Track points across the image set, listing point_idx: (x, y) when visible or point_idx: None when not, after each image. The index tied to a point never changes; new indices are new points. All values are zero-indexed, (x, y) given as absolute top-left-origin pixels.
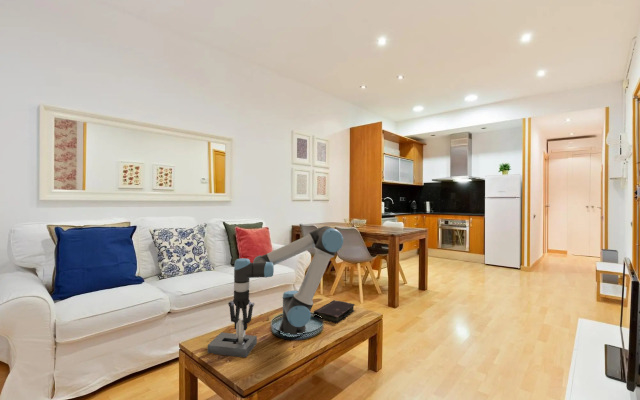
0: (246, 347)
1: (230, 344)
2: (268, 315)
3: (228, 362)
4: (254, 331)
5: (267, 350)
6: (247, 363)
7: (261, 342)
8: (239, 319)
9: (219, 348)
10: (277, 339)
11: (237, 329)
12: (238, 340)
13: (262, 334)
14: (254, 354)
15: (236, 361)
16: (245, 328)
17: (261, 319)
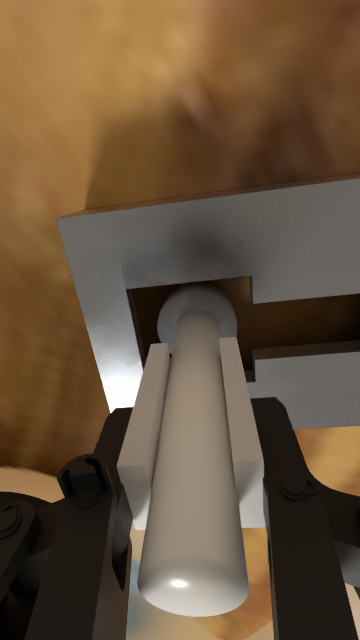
0: (76, 252)
1: (260, 255)
2: (233, 628)
3: (178, 76)
4: None
5: (9, 345)
6: (15, 127)
7: None
8: (216, 571)
9: (351, 177)
10: (42, 463)
11: (226, 392)
12: (208, 326)
13: None
14: (55, 273)
15: (120, 122)
16: (111, 426)
17: (249, 598)
